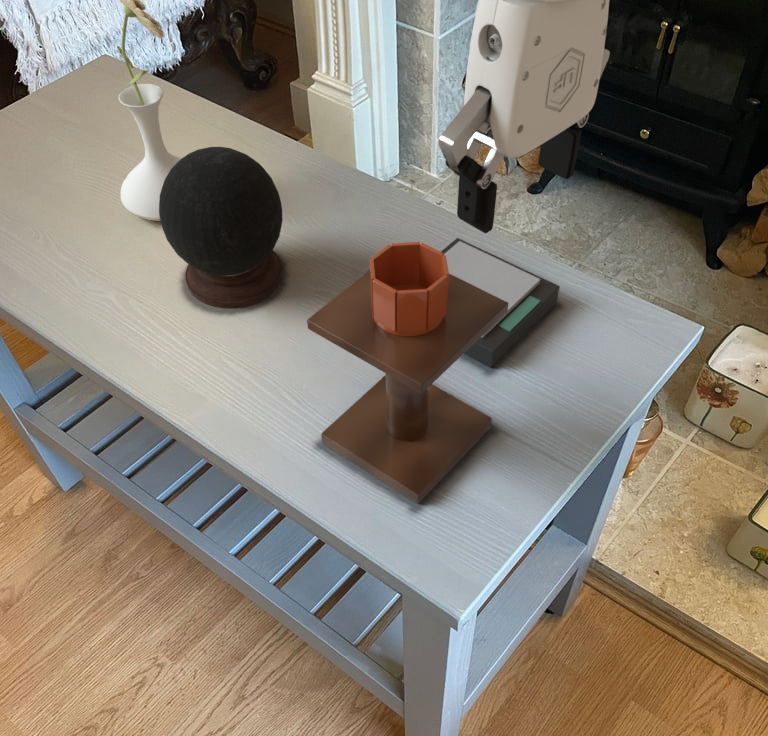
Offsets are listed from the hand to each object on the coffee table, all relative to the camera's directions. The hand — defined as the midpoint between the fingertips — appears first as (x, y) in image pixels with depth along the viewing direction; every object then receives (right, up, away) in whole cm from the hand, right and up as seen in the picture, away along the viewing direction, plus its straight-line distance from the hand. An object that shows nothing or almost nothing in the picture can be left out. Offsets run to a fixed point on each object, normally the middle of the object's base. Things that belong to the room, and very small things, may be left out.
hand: (515, 197), depth 64 cm
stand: (-8, -17, +16) cm, 25 cm away
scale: (0, -2, +27) cm, 27 cm away
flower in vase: (-38, +15, +40) cm, 57 cm away
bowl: (-8, -8, +3) cm, 12 cm away
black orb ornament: (-28, +3, +31) cm, 42 cm away
